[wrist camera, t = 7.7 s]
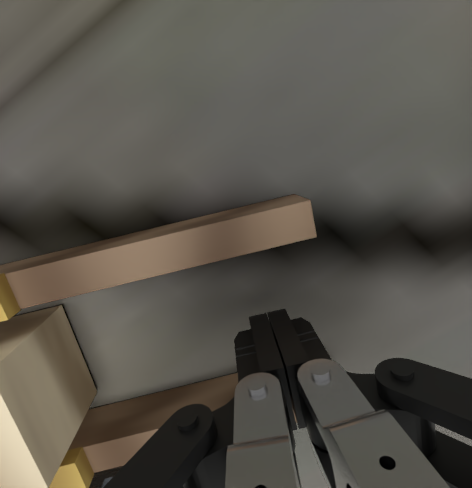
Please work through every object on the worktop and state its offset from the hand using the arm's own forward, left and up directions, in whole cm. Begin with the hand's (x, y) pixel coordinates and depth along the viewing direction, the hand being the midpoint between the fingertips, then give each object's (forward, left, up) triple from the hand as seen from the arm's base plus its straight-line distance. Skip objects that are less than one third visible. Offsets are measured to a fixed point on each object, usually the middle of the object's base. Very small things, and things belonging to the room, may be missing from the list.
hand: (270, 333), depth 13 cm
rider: (+12, 0, -3) cm, 12 cm away
